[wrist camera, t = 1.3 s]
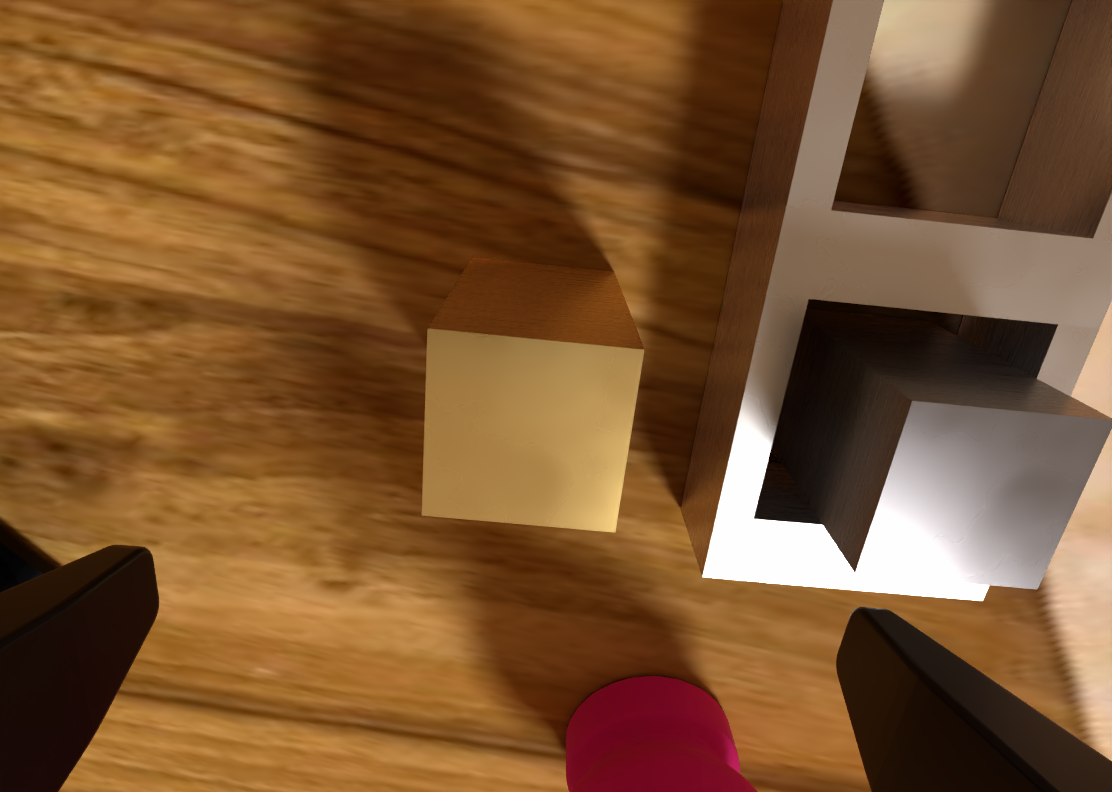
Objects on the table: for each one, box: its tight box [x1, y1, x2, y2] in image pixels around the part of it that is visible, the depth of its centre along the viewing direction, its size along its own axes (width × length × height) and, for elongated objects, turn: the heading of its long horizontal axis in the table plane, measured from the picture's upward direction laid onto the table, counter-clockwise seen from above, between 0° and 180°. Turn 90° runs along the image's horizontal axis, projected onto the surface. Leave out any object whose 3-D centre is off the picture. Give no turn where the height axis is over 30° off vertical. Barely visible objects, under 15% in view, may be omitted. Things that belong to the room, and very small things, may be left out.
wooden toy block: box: [422, 257, 644, 532], centre depth 16 cm, size 4×4×7 cm
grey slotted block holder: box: [681, 0, 1112, 601], centre depth 15 cm, size 18×8×7 cm, turn 174°
